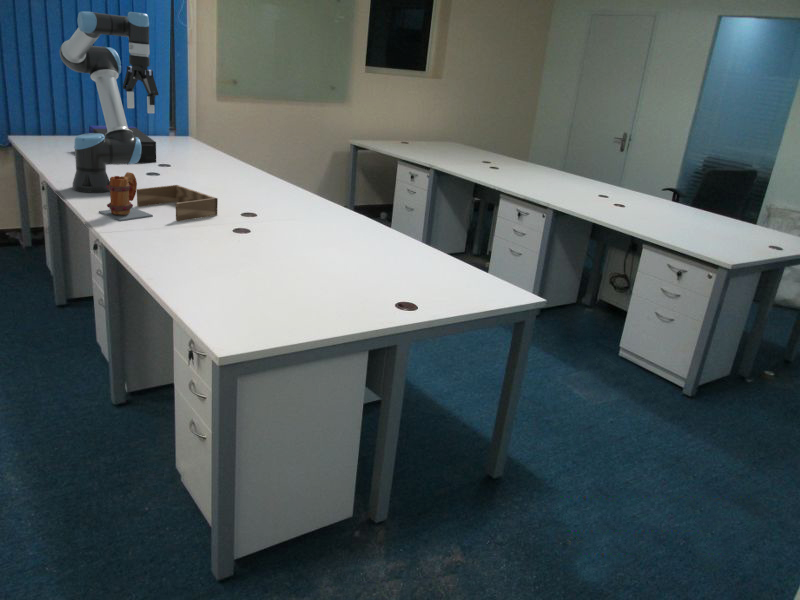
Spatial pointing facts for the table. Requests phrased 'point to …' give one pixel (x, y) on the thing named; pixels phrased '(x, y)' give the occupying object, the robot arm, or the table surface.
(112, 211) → the mug
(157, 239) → the table surface
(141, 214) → the rubber mat
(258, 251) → the table surface
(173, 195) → the wooden boards
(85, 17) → the robot arm
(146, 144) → the headphone box
